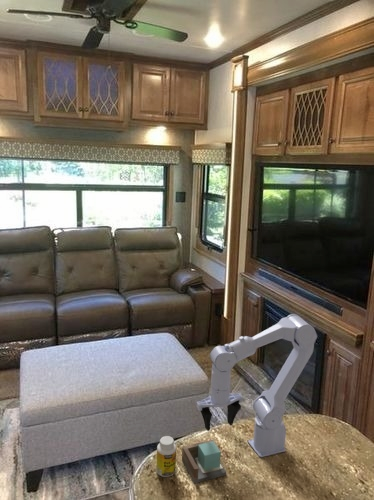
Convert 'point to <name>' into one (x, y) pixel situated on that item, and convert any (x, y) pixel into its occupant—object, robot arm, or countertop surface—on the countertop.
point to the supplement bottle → (166, 457)
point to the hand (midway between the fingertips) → (218, 426)
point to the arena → (198, 464)
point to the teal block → (209, 455)
